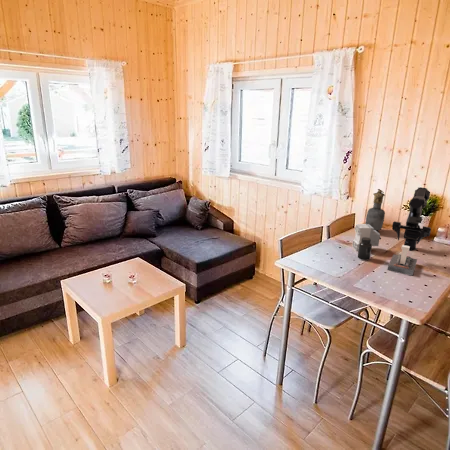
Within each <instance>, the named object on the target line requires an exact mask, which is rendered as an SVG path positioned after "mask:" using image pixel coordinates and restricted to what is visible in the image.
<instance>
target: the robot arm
mask: <svg viewBox="0 0 450 450" xmlns="http://www.w3.org/2000/svg"><path fill="white" fill-rule="evenodd" d="M430 196H431V191H429V190H428V188H426V187H421V186H419V187H417V189H415V190H414V194H413V196H412V199H410V201H409V203H408V206H409V213H408V216H407V219H406V221H405V224H404V225H403V224H402V222H400V221H393V222H392V226H391V228H392V230H393V231H394V232H395V233H396V235H397V241H400V236H401V229H402V230H404V233H403V240H404V244H403V245H406V246H410V249H409V251H410V252H412V251H416V250H418V248H417V245H418V244H419V243H420V242H421V241H422V239H424V238H427V237H430V236H431V232H432V231H431V230H432V228H431V227H428V226H422V228H421V226H420V225H419V224H422V221H423V217H422V211H423V209H424V208H425V207H427V203H428V200H430Z"/></svg>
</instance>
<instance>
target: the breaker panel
mask: <svg viewBox="0 0 450 450" xmlns="http://www.w3.org/2000/svg"><path fill="white" fill-rule="evenodd" d="M400 259H401V254H394V253H393V255H392V256H391V258H390V261H389V263H388V265H387V271H389V272H390V271H391V272H395V273H399V274H403V275H406V276H407V275H408V276H410V277H411V276H413V275H414V272H415V269H416V265H417V264H418V263H417V262H418V259H417V258H413V257H411V256H407V257H406V262H405V265H404V264H400Z"/></svg>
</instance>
